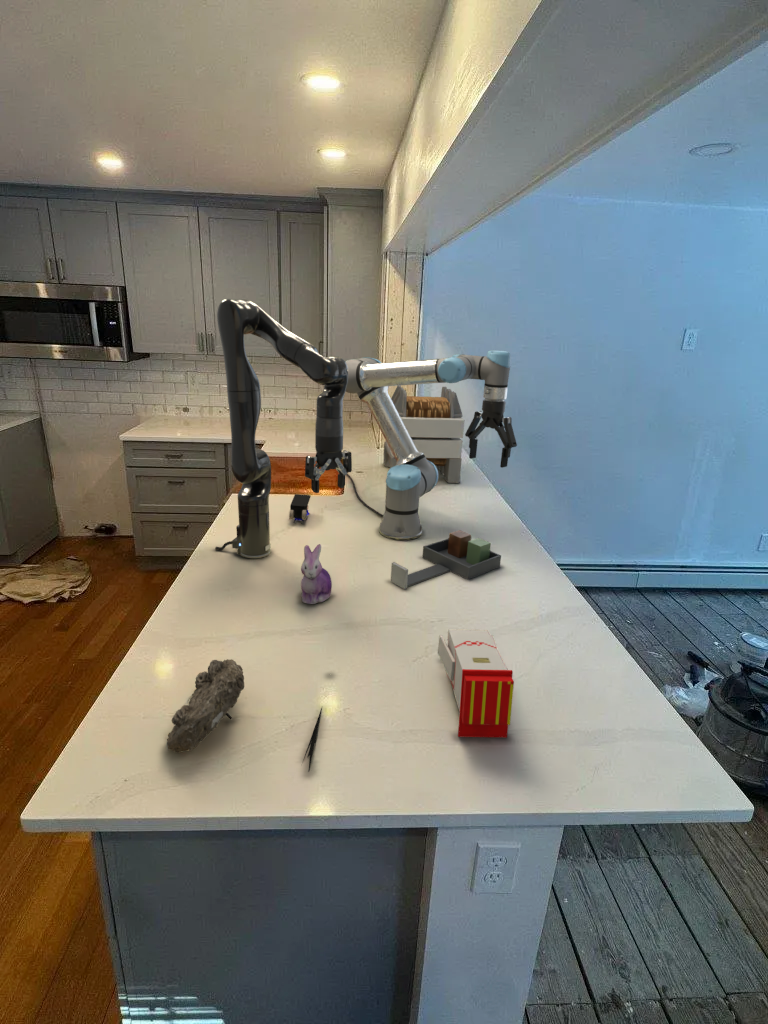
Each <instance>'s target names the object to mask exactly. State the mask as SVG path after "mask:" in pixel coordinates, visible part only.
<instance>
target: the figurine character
mask: <svg viewBox="0 0 768 1024" xmlns="http://www.w3.org/2000/svg"><path fill="white" fill-rule="evenodd" d="M311 496H312V495H311V494H299V493H295V494H294V495H293V498H292V500H291V503H290V505H289V507H290V509H289V512H288V513H289V515H288V516H289V517H288V519H289V520H291V521H292V520H293V521H292V522H293V523H292V524H296V522H297V521H298V522H299V521H301V522H300V524H301V525H302V524H304V521H305V520H307V518H308V517H309V515H310V512H309V502H310V500H311Z"/></svg>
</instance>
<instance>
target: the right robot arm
mask: <svg viewBox="0 0 768 1024" xmlns="http://www.w3.org/2000/svg"><path fill="white" fill-rule="evenodd" d="M511 357H512V354H511V352H509V351H506V350H494V349H493V350H488V351H487V354H486V355H483V356H482V355H473V354H465V353H461V354H460V353H459V354H458V353H457V354H453V355H452V356H451V357H441V358H429V359H428V358H427V359H418V360H417V359H415V360H406V361H404V360H403V361H392V362H382V361H380V360H379V359H377V358H375V357H367V356H365V357H361V358H360V357H359V358H352V359H347V360H344V361H345V362H346V364H347V367H348V382H347V386H346V391H345V393H348V394H356V395H357V397H358V398H359V400H360V402H362V403H365V404H366V406H367V407H368V409H369V411H370V413H371V415H372V417H373V419H374V420H375V422H376V424H377V427H378V428H379V430H380V432H381V434H382V436H383V438H384V441H385V440H386V441H385V442H387V444H388V446H389V448H390V449H391V451H392V453H393V455H394V457H395V459H396V461H397V463H396V466H394V467H392V468H390V467H389V469H388V471H387V473H386V478H385V504H384V505H385V507H384V508H385V509H384V513H383V514H382V513H381V512H379V511H378V510H376V509H374V508H373V507H371V506H370V505H368V504H367V503H366V502H365V501H363V499H362V498H361V497H360V495H359V493H358V491H357V488H356V485H355V482H354V480H353V478H352V476H351V475H350V474H348V473H347V474H346V476H347V477H348V479H349V480H350V482H351V484H352V487H353V490H354V493H355V496H356V497H357V500H359V501H360V503H362V504H363V505H364V506H365V507H366V508H367V509H369V510H370V511H371V512H374V513H375V514H376V515H378V516H380V517H382V519H381V522H379V527H378V533H379V534H380V535H381V536H382V537H385V538H387V539H389V540H395V541H410V540H415V539H418V538H420V537H421V536H422V535H423V525H422V524H421V518H420V515H419V507H420V506H419V505H420V498H421V497H423V496H424V495H426V494H427V493H430V492H431V491H432V490H433V489H434V488H435V487H436V485H437V484H438V481H439V471H438V468H437V466H435V465H434V464H433V463H432V462H430V461H428V460H427V459H426V457H425V455H424V453H422V452H419V451H417V449H416V447H415V445H414V443H413V441H412V439H411V437H410V435H409V433H408V431H407V429H406V427H405V425H404V423H403V421H402V420H401V418H400V416H399V414H398V412H397V410H396V408H395V406H394V404H393V402H392V400H391V398H392V397H391V396H390V394H389V388H390V387H397V386H399V385H400V386H411V385H412V386H413V385H414V386H415V385H427V384H445V383H446V384H456V383H459V382H460V381H465V380H479V381H484V385H483V395H482V397H483V400H482V406H481V410H478V411H477V410H476V411H475V412H474V414H473V418H472V420H471V421H470V424H469V426H468V428H467V429H466V432H465V434H464V436H465V437H467V438H468V439H469V440H468V441H469V442H468V448H469V454H468V455H469V456H468V458H469V459H475V458H476V459H477V451H478V441H479V439H478V437H479V435H480V434H481V433H482V432H483V431H484V430H485V429H486V428H490V429H494V430H495V431H496V432H497V435H498V436H499V439H500V440H501V443H502V444H503V447H502V449H501V459H500V465H499V467H500V468H502V469H503V468H507V467H508V463H509V458H510V457H511V453H512V452H511V451H512V448H516V447H517V446H518V443H517V440H516V436H515V433H514V432H515V431H514V428H513V424H512V423H513V422H512V420H513V419H512V417H511V416H509V417H508V416H507V417H505V415H504V414H505V412H506V407H507V406H506V404H507V402H506V400H507V397H508V387H509V379H510V378H509V377H510V372H511V371H510V370H511ZM481 419H482V420H481Z"/></svg>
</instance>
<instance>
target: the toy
mask: <svg viewBox="0 0 768 1024" xmlns="http://www.w3.org/2000/svg"><path fill="white" fill-rule="evenodd" d="M446 640H447V643H446V641H445V639H444V636H443V635H442V634H439V637H438V646H437V656H438V657H439V659H440V661H441V663H442V666H443V668H444V670H445V672H446V674H447V677H448V679H449V681H450V684H451V687H452V690H453V693H454V697H455V701H456V705H457V708H458V711H459V714H458V715H459V716H458V730H457V731H458V732H457V737H458V738H508V731H509V726H510V725H511V717H512V707H513V697H514V696H513V695H514V684H515V680H514V679H513V673H514V671H513V670H512V669H508V667H507V665H506V662H505V661H504V659H503V658H502V655H501V653H500V651H499V649H498V647H497V643H496V639H495V637H494V635H493V634H491V632H490V631H489V629H467V628H466V629H465V628H463V629H461V628H460V629H459V628H448V630H447V639H446Z"/></svg>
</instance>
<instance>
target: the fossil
mask: <svg viewBox="0 0 768 1024" xmlns="http://www.w3.org/2000/svg"><path fill="white" fill-rule="evenodd" d="M243 670H244V669H243V667H242V665H240V664H237V662H236V661H235V660H234V659H232V658H231V659H227V658H226V659H224V660H223V661H222V660H217V659H212V660H211V661H210V663H209V665H208V666H207V671H201V672H199V673H198V674H197V675H196V676H195V680H194V684H195V685H194V687H195V689H194V690H193V693H192V694H191V697H190V698H189V700H188V704H184V705H182V706H181V707H180V709H177V710H176V711H175V713H174V715H173V716H172V718H171V723H172V724H173V727H172V730H171V731H170V732H168V734H167V738H166V741H167V742H166V745H167V749H168V750H169V751H173V752H174V753H176V754H178V753H182V752H188V751H189V752H192V751H193V750H195V748H196V747H197V746H199V744H200V743H201V742H203V741H204V740H205V739H206V738H207V737H208V736H209V735H210V734H211V733H212V732H214V730H215V729H217V727H218V726H219V724H220V722H221V721H222V720H223V719H224V718H225V716H226V717H227V719H229V720H233V717H232V715H230V714H229V710H230V709H231V708H234V706H235V704H236V703H237V702H238V699H239V697H240V695H241V693H242V691H243V690H245V689H244V688H245V675H244V671H243Z"/></svg>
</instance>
